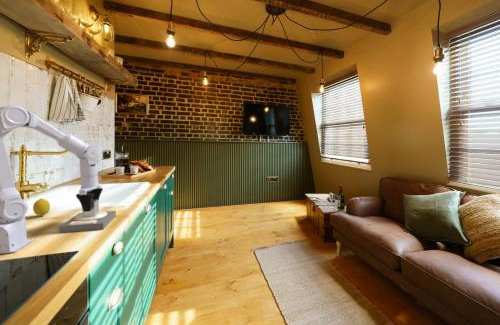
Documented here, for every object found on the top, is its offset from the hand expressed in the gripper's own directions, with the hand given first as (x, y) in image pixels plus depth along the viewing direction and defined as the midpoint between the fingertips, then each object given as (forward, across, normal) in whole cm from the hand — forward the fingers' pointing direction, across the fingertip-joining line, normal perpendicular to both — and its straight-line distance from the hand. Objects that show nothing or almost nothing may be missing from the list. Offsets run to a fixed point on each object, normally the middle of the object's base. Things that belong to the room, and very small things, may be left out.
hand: (91, 208), depth 94 cm
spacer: (+3, 0, 0) cm, 3 cm away
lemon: (+6, +14, +24) cm, 28 cm away
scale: (+6, -1, 0) cm, 6 cm away
